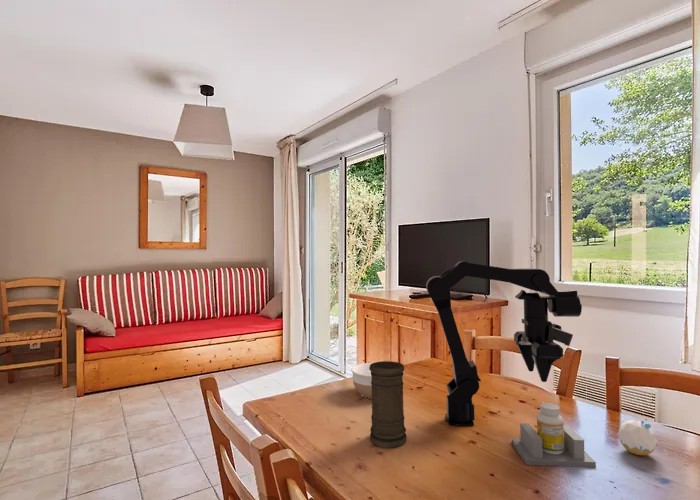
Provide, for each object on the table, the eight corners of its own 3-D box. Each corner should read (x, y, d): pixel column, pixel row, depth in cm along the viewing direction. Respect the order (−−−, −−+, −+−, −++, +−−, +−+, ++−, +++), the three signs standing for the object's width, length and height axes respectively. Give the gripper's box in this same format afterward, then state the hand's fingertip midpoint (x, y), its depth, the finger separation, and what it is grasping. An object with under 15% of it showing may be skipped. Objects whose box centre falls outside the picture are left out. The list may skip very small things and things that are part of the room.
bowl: (369, 382, 142) (368, 360, 142) (409, 390, 132) (409, 366, 133) (341, 395, 129) (341, 370, 129) (384, 405, 119) (384, 379, 120)
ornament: (617, 455, 88) (616, 418, 88) (621, 443, 94) (620, 408, 94) (655, 465, 84) (654, 426, 84) (657, 452, 89) (656, 415, 89)
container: (382, 451, 91) (381, 372, 92) (363, 436, 99) (361, 363, 100) (414, 442, 96) (413, 366, 96) (393, 428, 103) (392, 358, 104)
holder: (526, 464, 85) (525, 440, 85) (511, 442, 95) (511, 421, 95) (595, 466, 83) (595, 442, 83) (573, 444, 93) (573, 422, 93)
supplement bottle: (561, 457, 85) (560, 412, 85) (534, 450, 89) (533, 406, 89) (566, 448, 89) (565, 405, 90) (541, 441, 93) (540, 399, 93)
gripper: (585, 322, 95) (587, 388, 95) (553, 311, 114) (554, 366, 113) (536, 322, 96) (538, 387, 96) (512, 311, 115) (514, 366, 114)
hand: (537, 376), depth 105 cm, fingers open, 9 cm apart
